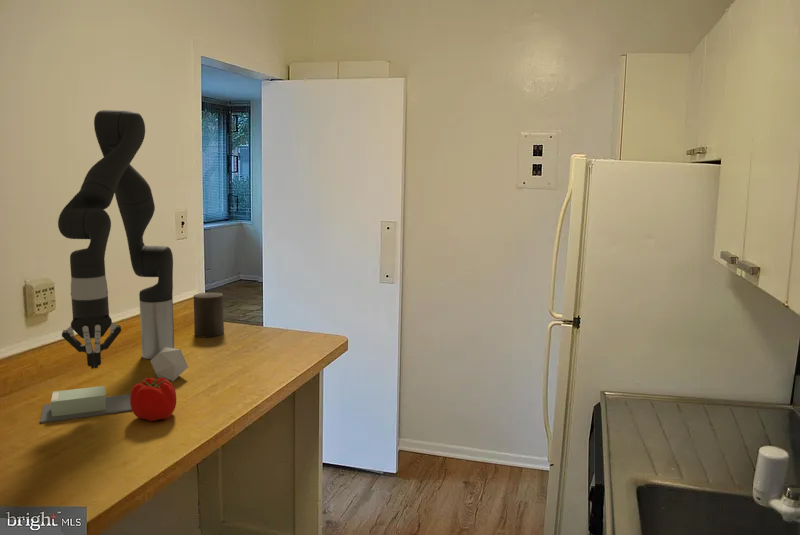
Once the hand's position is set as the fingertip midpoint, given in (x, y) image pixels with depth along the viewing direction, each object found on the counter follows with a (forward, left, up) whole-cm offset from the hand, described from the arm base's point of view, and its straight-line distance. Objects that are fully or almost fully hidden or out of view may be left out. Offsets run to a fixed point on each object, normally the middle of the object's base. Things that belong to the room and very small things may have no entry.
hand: (94, 367), depth 146 cm
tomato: (+12, +12, -10) cm, 20 cm away
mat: (0, -1, -10) cm, 10 cm away
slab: (0, +2, -8) cm, 8 cm away
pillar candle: (-58, +35, -10) cm, 68 cm away
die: (-15, +18, -10) cm, 25 cm away
